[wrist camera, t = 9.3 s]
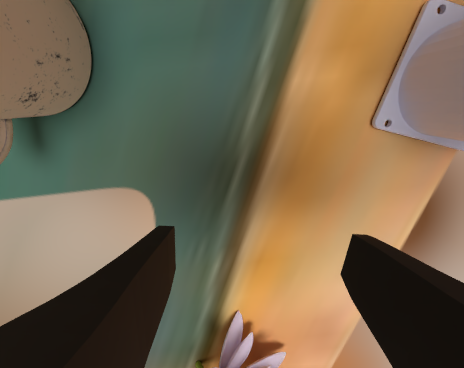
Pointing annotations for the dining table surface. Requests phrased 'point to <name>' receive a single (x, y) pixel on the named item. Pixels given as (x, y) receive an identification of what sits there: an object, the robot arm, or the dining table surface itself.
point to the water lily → (242, 349)
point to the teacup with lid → (39, 61)
